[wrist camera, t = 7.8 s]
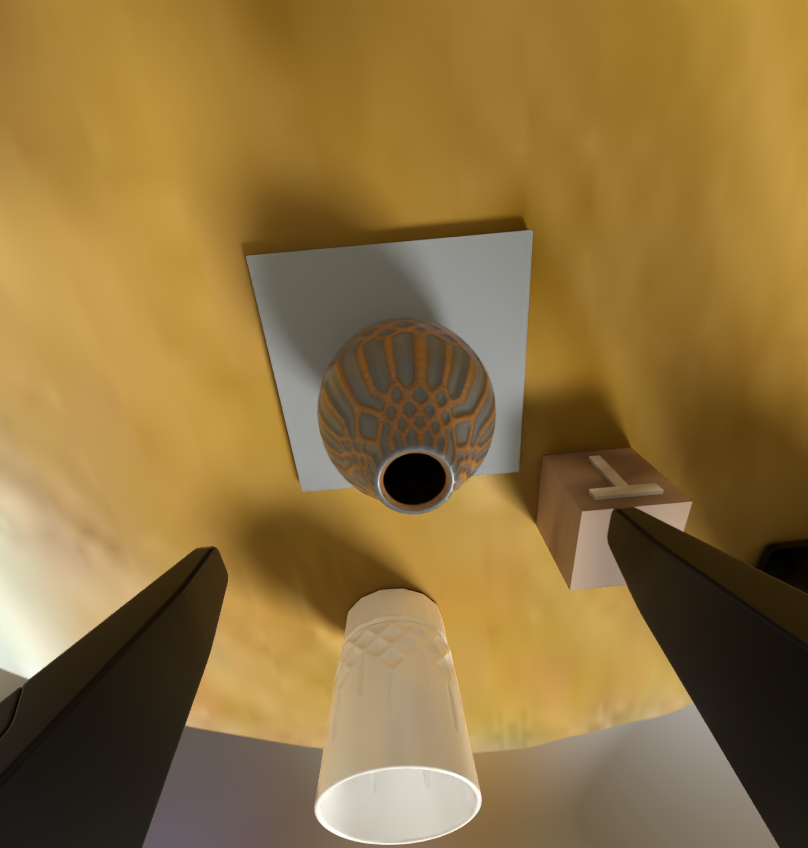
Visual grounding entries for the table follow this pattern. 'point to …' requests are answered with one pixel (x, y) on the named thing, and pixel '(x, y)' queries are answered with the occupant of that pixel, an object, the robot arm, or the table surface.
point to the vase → (406, 413)
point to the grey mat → (395, 298)
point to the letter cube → (599, 509)
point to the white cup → (396, 728)
